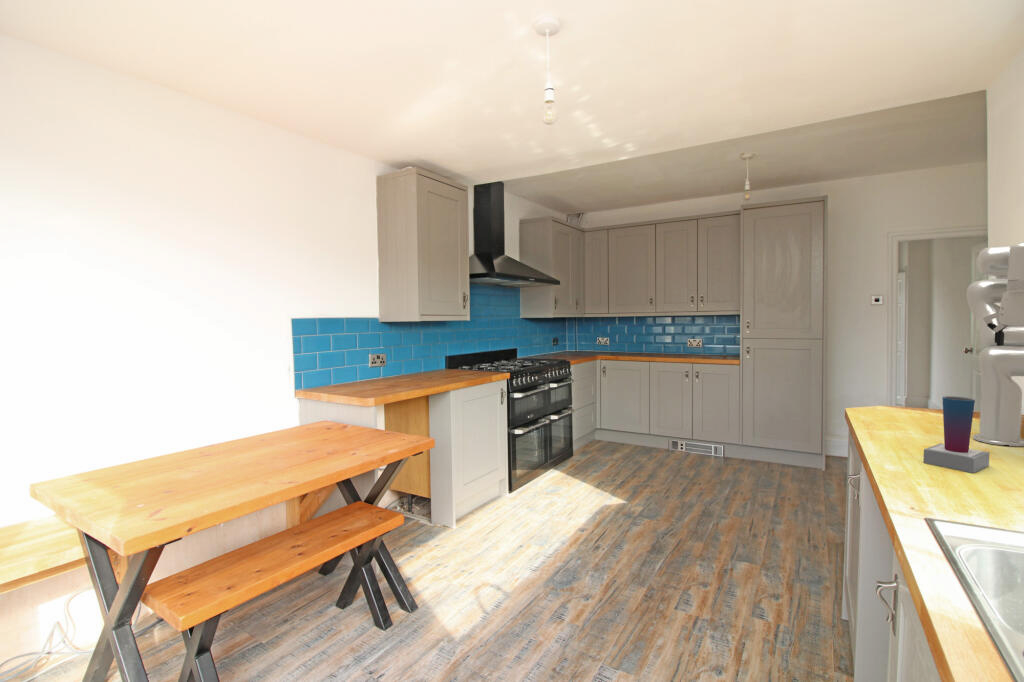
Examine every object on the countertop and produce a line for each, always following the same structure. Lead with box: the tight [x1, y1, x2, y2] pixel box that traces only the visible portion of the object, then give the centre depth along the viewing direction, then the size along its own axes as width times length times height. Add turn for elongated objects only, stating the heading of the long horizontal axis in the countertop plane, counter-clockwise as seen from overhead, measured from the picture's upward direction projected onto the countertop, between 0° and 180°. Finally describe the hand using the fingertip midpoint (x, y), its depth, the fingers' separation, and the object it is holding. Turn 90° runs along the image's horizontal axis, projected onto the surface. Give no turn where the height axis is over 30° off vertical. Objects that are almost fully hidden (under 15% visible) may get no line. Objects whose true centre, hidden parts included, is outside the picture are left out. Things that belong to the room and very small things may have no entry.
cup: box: [942, 395, 976, 453], centre depth 139 cm, size 7×7×15 cm
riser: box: [922, 443, 990, 474], centre depth 139 cm, size 11×11×4 cm
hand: (1023, 346), depth 140 cm, fingers open, 9 cm apart
